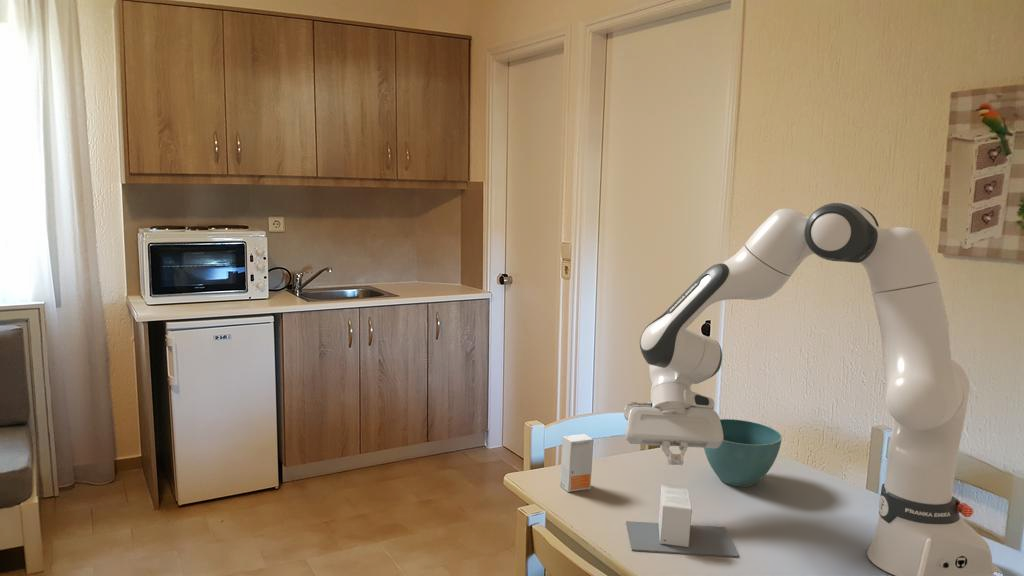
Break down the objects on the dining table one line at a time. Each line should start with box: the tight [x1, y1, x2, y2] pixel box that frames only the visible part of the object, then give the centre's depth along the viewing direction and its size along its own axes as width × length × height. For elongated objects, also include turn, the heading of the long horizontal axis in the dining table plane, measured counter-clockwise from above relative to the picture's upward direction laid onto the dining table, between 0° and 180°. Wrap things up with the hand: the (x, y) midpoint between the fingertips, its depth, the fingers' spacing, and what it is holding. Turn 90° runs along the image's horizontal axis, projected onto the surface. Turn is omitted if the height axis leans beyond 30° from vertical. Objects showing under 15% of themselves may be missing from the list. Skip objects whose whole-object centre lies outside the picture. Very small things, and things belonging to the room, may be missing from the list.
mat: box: [625, 520, 739, 558], centre depth 145 cm, size 20×12×1 cm, turn 87°
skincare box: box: [559, 433, 594, 493], centre depth 167 cm, size 6×4×12 cm
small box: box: [658, 484, 693, 547], centre depth 146 cm, size 8×6×10 cm
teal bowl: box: [703, 418, 783, 488], centre depth 175 cm, size 18×18×12 cm
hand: (675, 463), depth 152 cm, fingers closed
